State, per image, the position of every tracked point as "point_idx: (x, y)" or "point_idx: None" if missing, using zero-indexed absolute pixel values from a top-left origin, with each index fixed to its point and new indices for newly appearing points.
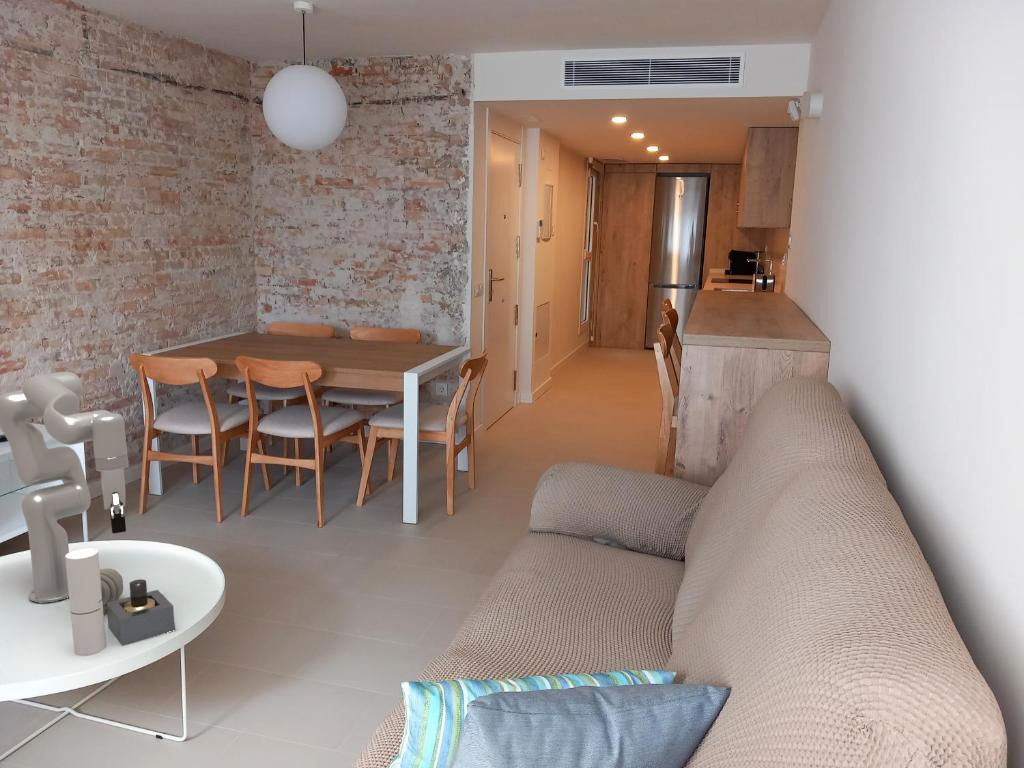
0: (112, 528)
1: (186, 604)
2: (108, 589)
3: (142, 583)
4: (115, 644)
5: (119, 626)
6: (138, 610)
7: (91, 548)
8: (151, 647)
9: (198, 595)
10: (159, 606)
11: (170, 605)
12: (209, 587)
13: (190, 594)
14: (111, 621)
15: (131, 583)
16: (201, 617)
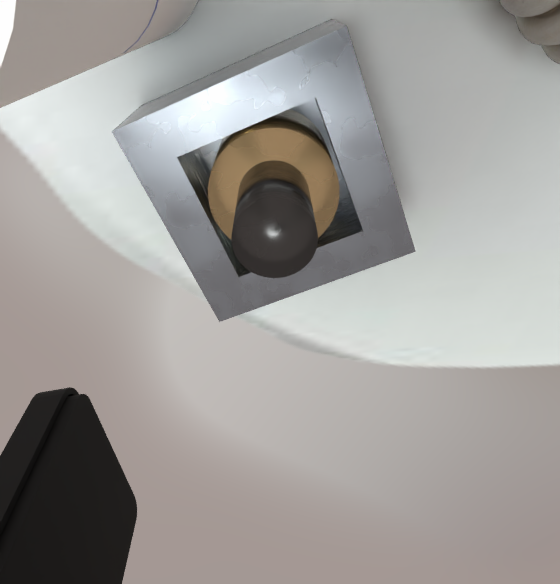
0: (10, 453)
1: (436, 288)
2: (524, 11)
3: (252, 264)
4: (159, 77)
5: (135, 116)
6: (208, 198)
7: (4, 34)
8: (112, 211)
9: (497, 318)
10: (223, 276)
11: (222, 313)
12: (549, 344)
13: (521, 294)
14: (267, 53)
15: (270, 209)
16: (307, 336)
